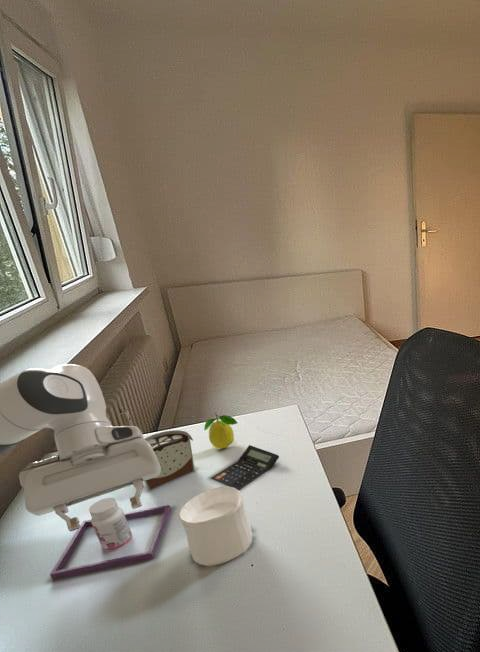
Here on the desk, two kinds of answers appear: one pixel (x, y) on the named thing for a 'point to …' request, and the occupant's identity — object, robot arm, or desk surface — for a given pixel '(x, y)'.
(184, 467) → the food container
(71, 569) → the purple square frame
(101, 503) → the pill bottle
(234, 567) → the desk surface
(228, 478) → the calculator
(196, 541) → the cup
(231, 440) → the lemon
